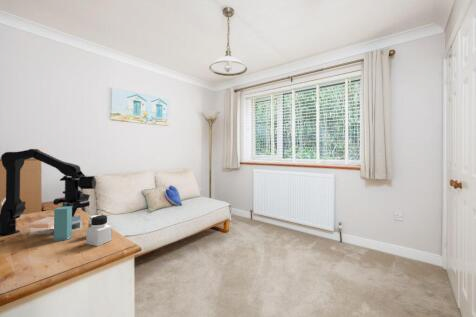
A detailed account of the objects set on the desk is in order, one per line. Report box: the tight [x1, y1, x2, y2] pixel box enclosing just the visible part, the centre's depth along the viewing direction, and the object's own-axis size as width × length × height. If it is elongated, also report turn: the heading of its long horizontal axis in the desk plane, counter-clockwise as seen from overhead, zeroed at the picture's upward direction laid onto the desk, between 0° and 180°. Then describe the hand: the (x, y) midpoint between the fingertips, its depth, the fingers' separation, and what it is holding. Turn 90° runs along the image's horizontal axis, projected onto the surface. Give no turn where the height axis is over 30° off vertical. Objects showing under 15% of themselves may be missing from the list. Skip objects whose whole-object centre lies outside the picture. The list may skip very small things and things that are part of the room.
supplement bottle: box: [87, 214, 99, 228], centre depth 107 cm, size 5×5×10 cm
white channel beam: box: [72, 221, 83, 232], centre depth 115 cm, size 13×7×4 cm, turn 71°
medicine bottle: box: [85, 214, 113, 247], centre depth 99 cm, size 7×7×12 cm
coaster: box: [53, 234, 73, 242], centre depth 102 cm, size 7×7×1 cm
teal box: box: [53, 206, 73, 241], centre depth 102 cm, size 5×5×14 cm
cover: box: [72, 214, 83, 224], centre depth 114 cm, size 10×7×3 cm
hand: (71, 218), depth 114 cm, fingers closed
